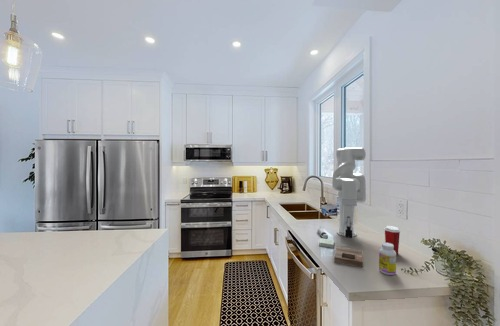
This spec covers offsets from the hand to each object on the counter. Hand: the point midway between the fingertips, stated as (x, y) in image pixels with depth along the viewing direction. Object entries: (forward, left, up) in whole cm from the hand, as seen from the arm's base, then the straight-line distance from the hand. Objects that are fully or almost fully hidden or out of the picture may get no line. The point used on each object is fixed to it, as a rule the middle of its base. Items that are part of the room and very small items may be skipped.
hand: (348, 235), depth 119 cm
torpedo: (-28, -18, -11) cm, 35 cm away
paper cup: (-15, +21, -11) cm, 28 cm away
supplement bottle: (+11, +17, -11) cm, 23 cm away
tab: (-12, -13, -11) cm, 20 cm away
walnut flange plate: (+3, 0, -11) cm, 11 cm away
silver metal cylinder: (0, 0, 0) cm, 0 cm away
